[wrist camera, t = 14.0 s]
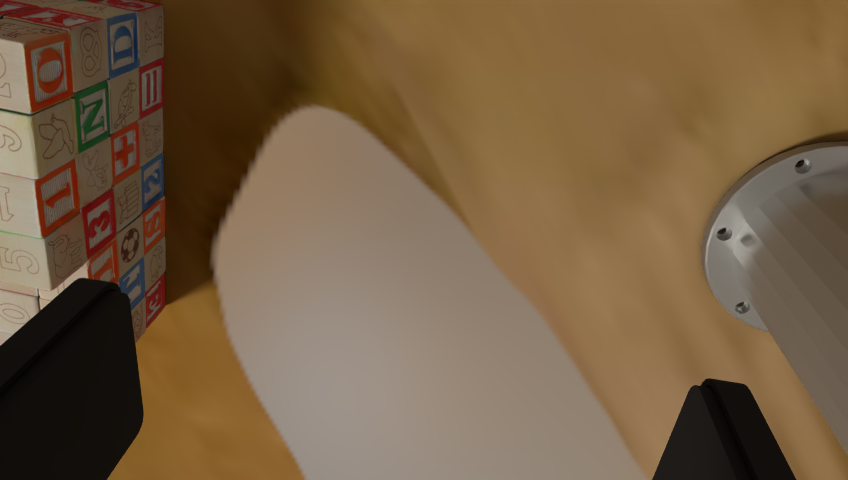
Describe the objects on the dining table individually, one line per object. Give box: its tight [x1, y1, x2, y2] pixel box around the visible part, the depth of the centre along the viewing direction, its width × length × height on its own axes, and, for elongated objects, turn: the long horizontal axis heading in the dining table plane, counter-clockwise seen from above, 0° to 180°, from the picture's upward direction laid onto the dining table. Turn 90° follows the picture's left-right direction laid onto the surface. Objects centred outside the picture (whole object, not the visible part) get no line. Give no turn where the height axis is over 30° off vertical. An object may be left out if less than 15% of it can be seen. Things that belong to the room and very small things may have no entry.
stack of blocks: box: [0, 0, 166, 345], centre depth 36 cm, size 21×6×12 cm, turn 170°
